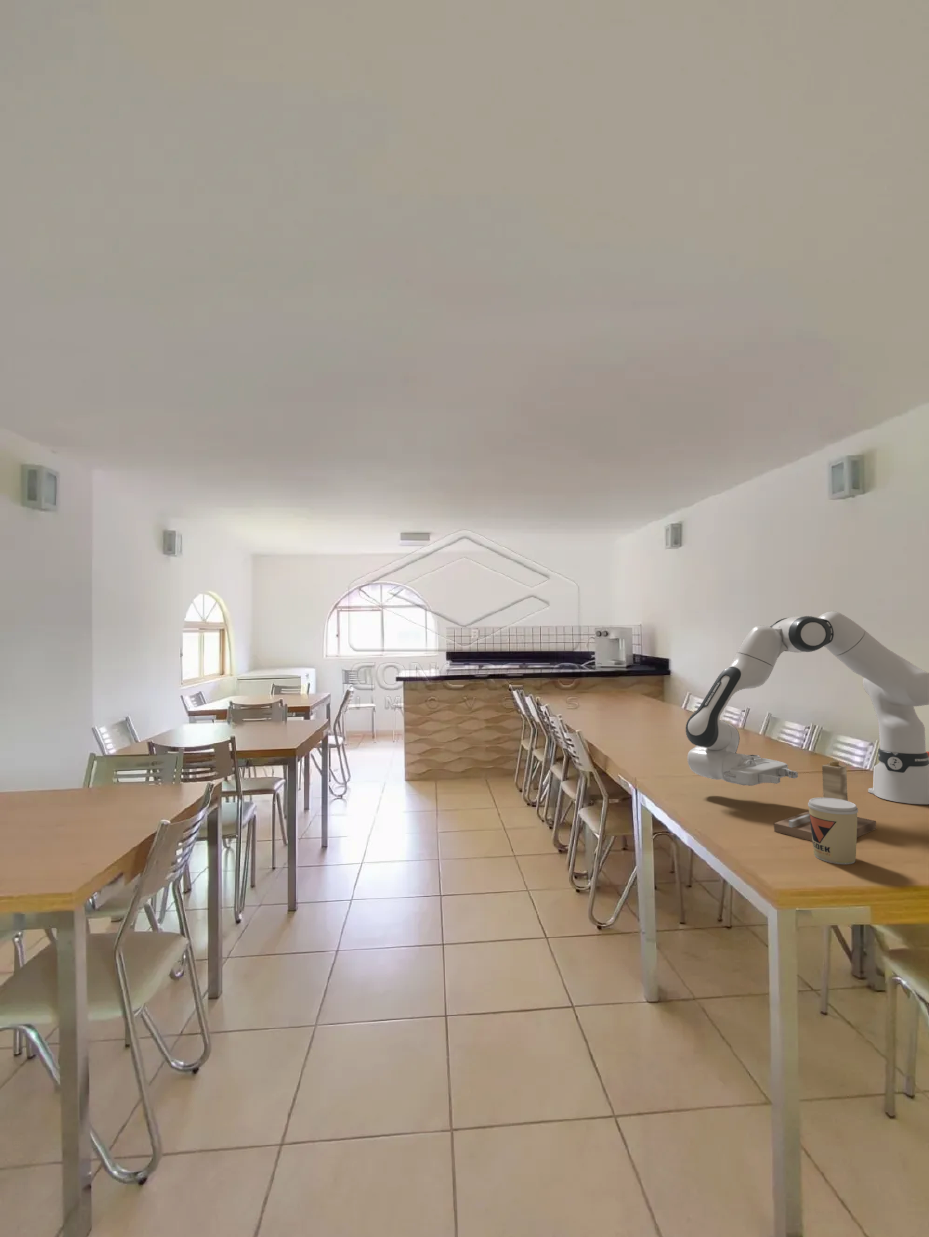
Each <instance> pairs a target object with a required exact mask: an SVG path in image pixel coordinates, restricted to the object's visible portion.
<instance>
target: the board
mask: <svg viewBox="0 0 929 1237" xmlns="http://www.w3.org/2000/svg"><path fill="white" fill-rule="evenodd" d="M875 830H877V821H876V820H872V819H868V818H866V817H865V818H864V817H859V816H857V838H859V837H861V836H863V835H866V834H868V833H870V832H873V831H875ZM773 832H776V833H780V834H783V835H788V836H791V837H795V838H798V839H802V840H807V841H810V842H813V841H812V832H811V823H810V813H809V810H808V811H805V812H802V813H799V814H796V815H794V816H791V817H788V818H785V819H782V820H779V821H777V822H773Z"/></svg>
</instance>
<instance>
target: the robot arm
mask: <svg viewBox="0 0 929 1237" xmlns="http://www.w3.org/2000/svg"><path fill="white" fill-rule="evenodd" d="M823 647H824V648H825V649H827V650H828V651H829V652H830V653H831V654H832V655H833V656H835V657H836V658H837V659H838V660H839V661H841V662H842V664H844V665H845V666H846V667H847V668H849V669H850V670H851V671H852V672H853V673H855V674H857V675H858V676H861V677H863V678H862V687H863V690H864V691H865V693H866V694H867V695H868V697H869V698H870V701H871V704H872V706H873V709H874V712H875V716H876V719H877V724H878V734H879V735H878V736H879V737H878V739H879V748H878V750H877V751H878V752H877V756H878V758H877V759H878V761H879V762H878V763H877V764H875V765H874V767H873V779H872V782H873V783H872V787H869V788H867V791H868V793H870V794H872V795H875V796H876V797H878V798H880V799H883V800H887V801H891V802H897V803H903V804H910V805H911V804H912V805H929V750H928V751H927V749H926V748H927V747H926V732H925V731H926V727H925V725H924V723H923V722H922V720H921V719H920V718H919V716H918V713H917V712H916V710H915V707H923V706H929V672H928V671H925V670H923V669H922V668H920V667H918V666H916V665H914V663H913V662H912V663H911V662H910V661H908V660H907V659H906V658H903V657H902V656H900V655H899V654H897V653H895V652H894V651H892V650H890V649H889V648H888V647H886V646H884V645H883V644H882V643H881V642H880V641H879V640H878V639H876V638H875V637H874V636H872V634H870V633H869V632H868V631H867V630H865V629H864V628H863V627H861V625H859V624H858V623H856V621H854V620H852V619H851V618H849V617H847V616H846V615H844V614H842V613H840V612H839V611H834V610H833V611H832V610H831V611H827V612H824V613H822V614H820V615H819V616H818V617H816V616H812V615H811V616H809V615H806V616H803V615H802V616H801V615H798V616H795V615H794V616H791V617H785V618H780V619H779V620H777V621H776V622H774V623H773V624H771V625H770V626H768V625H756V626H754V627H752V628H751V629H750V630H749V632H748V633H747V634H746V635H745V637H744V639H743V641H742V643H741V644H740V645H739V648H738V650H737V652H736V654H735V656H734V657H733V660H732V661H731V662H730V664H729V665H728V666H727V667H726V668H724V669H723V670H722V671H721V672H720V674H719V675H718V676H717V678H716V679H715V681H714V683H713V684H712V685H711V687H710V690H708V692H707V694H706V696H705V697H704V699H703V701H702V702H701V704H700V705H699V707H698V708H697V709H696V710H695V711H694V713H692V714H691V715H690V717H689V718H688V719H687V722H686V724H685V735H686V738H687V739H688V741H689V742H690V743H691V744H692V745H694V747H693V748H691V749H690V750H689V751H688V753H687V764H688V766H689V769H690V770H691V771H692V772H693V773H694V774H696V775H698V776H700V777H704V778H707V779H711V780H723V781H725V782H727V783H731V784H736V785H740V786H748V787H749V786H751V787H752V786H757V785H760V784H763V783H764V784H767V783H768V784H769V783H770V784H774V785H775V784H780V783H781V779H782V778H784V777H788V778H789V779H797V778H798V777H799V772H798V771H796V770H791V769H789V765H788V763H786V762H783V761H779V760H776V759H769V758H766V757H765V758H764V757H761V755H758V754H745V753H737V751H738V748H739V744H740V741H741V740H740V733H739V730H738V729H737V728H736V727H735V726H734V725H732V724H730V723H729V722H726V721H724V720H722V719H720V718H721V715H722V714H723V712H724V710H725V708H726V707H727V705H728V703H729V702H730V700H731V699H732V697H733V696H734V695H735V694H736V693H737V692H739V691H743V690H749V689H750V690H751V689H755V688H759V687H761V686H763V685H764V684H765V683H766V682H767V681H768V680H769V677H770V676H771V675H772V672H773V670H774V667H775V665H776V663H777V660H778V658H779V657H780V656H781V655H782V653H785V652H792V653H811V652H816V651H818V650H821V649H822V648H823Z"/></svg>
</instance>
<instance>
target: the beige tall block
mask: <svg viewBox="0 0 929 1237" xmlns="http://www.w3.org/2000/svg"><path fill="white" fill-rule="evenodd" d="M839 763H840V762H839V761H837V760H829V763H827V764H822V765H821V768H822V771H821V772H822V795H823V796H822V798H835V799H841V800H846V801H849V800H848V799H849V798H848V796H849V795H848V777H847V776H848V775H847V774H848V773H847V771H848V770H847V765H842V764H839Z"/></svg>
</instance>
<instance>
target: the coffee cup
mask: <svg viewBox="0 0 929 1237" xmlns="http://www.w3.org/2000/svg"><path fill="white" fill-rule="evenodd" d="M807 806H808V811H809V813H810V823H811V832H812V841H811V842H812V847H813V848H812V849H813V855H814V857H815V858H817V859H819V860H820V861H823V862H826V863H831V864H834V865H835V864H836V865H851V864H854V863H855V862H856V859H857V840H858V839H857V838H858V837H857V817H858V813H859V809H858V808H859V807H857V804H855V803H854V802H851V801H850V800H848V801H846V800H841V799H835V798H823V797H813V798H810V799H809V801H808V802H807Z"/></svg>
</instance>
